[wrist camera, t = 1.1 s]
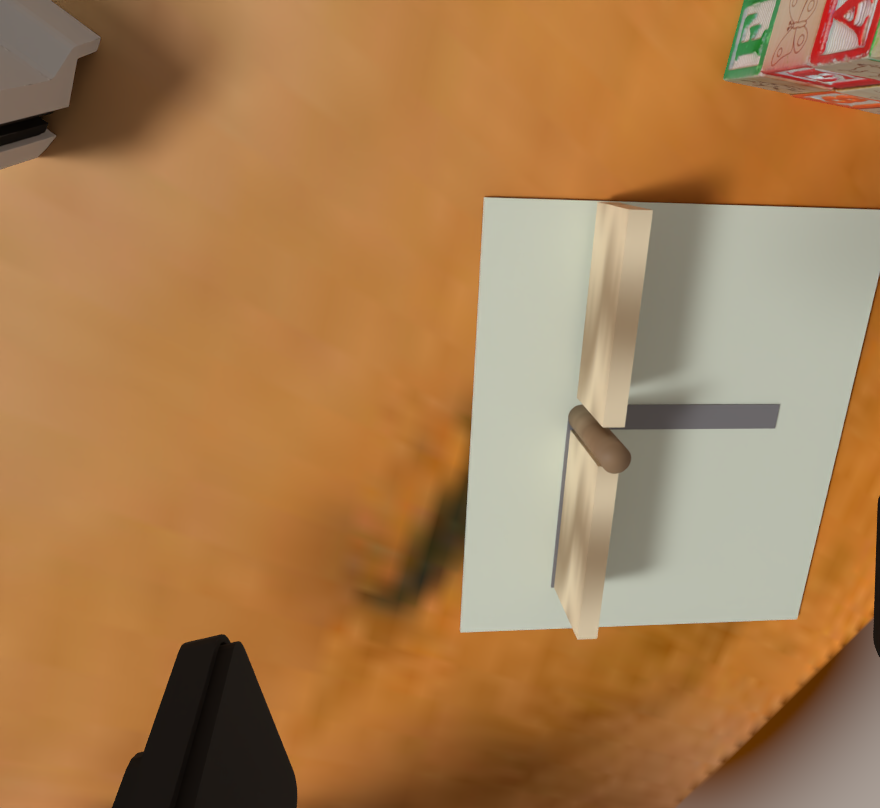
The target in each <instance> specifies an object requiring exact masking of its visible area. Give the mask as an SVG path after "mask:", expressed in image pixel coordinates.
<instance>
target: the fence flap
mask: <svg viewBox="0 0 880 808" xmlns="http://www.w3.org/2000/svg"><path fill="white" fill-rule="evenodd" d="M652 214H653V210H650V209H645V208H641V207H637V206H632V205H628V204H623V203H619V202H597V212H596V221H595V231H594V240H593V250H592V259H591V269H590V278H589V287H588V297H587V306H586V316H585V325H584V335H583V344H582V354H581V363H580V373H579V382H578V391H577V399H578V400H579V401H580V402H581V403H582V404H583V405H584V407H585V408H586V409H587V410H588V411H589V412H590V413H591V415H592V416H593V417H594V418H595V419H596V420H597V421H598V423H599V424H600V425H601V426H602V427H625V421H626V413H627V406H628V398H629V390H630V383H631V375H632V367H633V360H634V352H635V344H636V337H637V329H638V321H639V314H640V306H641V299H642V291H643V283H644V276H645V268H646V260H647V253H648V245H649V237H650V230H651V222H652Z"/></svg>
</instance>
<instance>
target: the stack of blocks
mask: <svg viewBox="0 0 880 808" xmlns="http://www.w3.org/2000/svg"><path fill="white" fill-rule="evenodd" d="M724 80H725V81H728V82H733V83H738V84H743V85H748V86H753V87H758V88H763V89H768V90H773V91H778V92H783V93H788V94H790V95H791V96H793V97H796V98H802V99H807V100H812V101H817V102H822V103H827V104H832V105H837V106H842V107H847V108H852V109H859V110H862V111H867V112H871V113H875V114H880V0H744V2H743V6H742V10H741V14H740V17H739V21H738V25H737V29H736V32H735V36H734V40H733V44H732V48H731V51H730V55H729V59H728V63H727V67H726V70H725V74H724Z"/></svg>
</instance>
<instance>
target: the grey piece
mask: <svg viewBox="0 0 880 808" xmlns="http://www.w3.org/2000/svg"><path fill="white" fill-rule="evenodd" d="M100 40H101V37H100V36H98V35H97V34H96V33H94V32H93V31H91V30H90V29H89V28H87V27H86V26H85V25H83V24H82V23H81V22H79V21H78V20H77V19H75V18H74V17H73V16H71V15H70V14H68V13H67V12H66V11H64V10H63V9H62V8H60V7H59V6H58V5H56V4H55V3H54V2H52V1H51V0H0V169H3V168H6V167H9V166H12V165H15V164H19V163H22V162H25V161H28V160H31V159H34V158H37V157H38V156H39V155H40V154H41V153H42V152H43V151H44V150H46V148H47V147H48V146H49V145H50V143H51V142H52V141H53V140H54V139H55V137H56V135H55V134H53V133H52V132H50V131H49V130H48V129H46V128H47V126H48V123H47V122H46V121H44V120H43V119H42V118H40V117H39V116H43V115H47V114H51V113H53V111H54V110H58V109H62V108H66V107H69V102H70V97H71V91H72V86H73V80H74V75H75V69H76V64H77V59H78V58H80V57H83V56H86V55H88V54H91V53H93V52H96V51H97V49H98V46H99V43H100Z"/></svg>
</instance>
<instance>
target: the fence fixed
mask: <svg viewBox="0 0 880 808" xmlns="http://www.w3.org/2000/svg"><path fill="white" fill-rule="evenodd" d="M568 418H569V423H570V425H571V427H572V428H573V429H574V430H570V439H569V449H568V458H567V468H566V478H565V487H564V497H563V506H562V516H561V526H560V535H559V545H558V554H557V564H556V574H555V583H554V589H555V591H556V593H557V595H558V597H559V600H560V602H561V604H562V606H563V609H564V611H565V613H566V615H567V618H568V620H569V622H570V624H571V626H572V629H573V631H574V633H575V635H576V638H577V639H597V635H598V627H599V619H600V612H601V604H602V597H603V589H604V581H605V574H606V566H607V558H608V551H609V543H610V535H611V528H612V520H613V512H614V505H615V497H616V490H617V482H618V474H619V473H621V472H623V471H624V470H626V469H627V468H628V466H629V465H630V462H631V454H630V452H629V450H628V449H627V448H626V447H625V446H624V445H623V444H622V442H621V441H620V440H619V439H618V438H617V437H616V436H615V435H614V434H613V432H612V431H611V430H610V429H609V428H608V427H602V426H601V425H600V424H599V423H598V421H597V420H596V419H595V418H594V417H593V416H592V415H591V413H590V412H589V411H588V410H587V409H586V408H585V407H584V405H577V406H575V407H574V408H572V409H571V411H570V412H569V415H568Z"/></svg>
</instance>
